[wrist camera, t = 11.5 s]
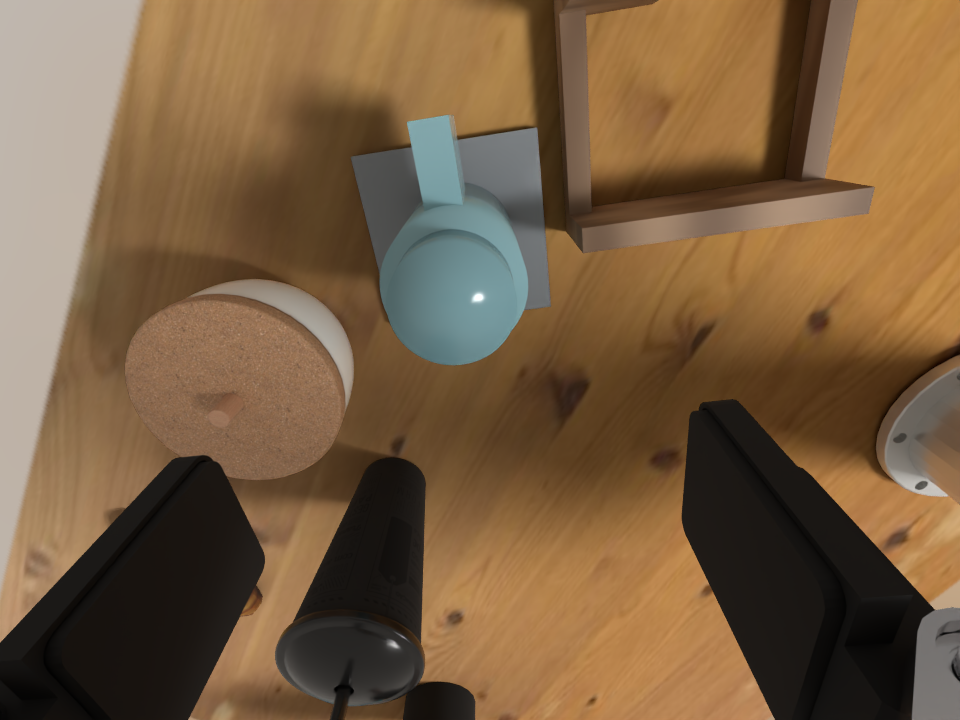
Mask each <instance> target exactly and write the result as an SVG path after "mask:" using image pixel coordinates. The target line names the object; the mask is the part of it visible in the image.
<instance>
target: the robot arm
mask: <svg viewBox="0 0 960 720" xmlns="http://www.w3.org/2000/svg"><path fill="white" fill-rule="evenodd" d="M876 452H877V459H878V461H879V463H880V465H881V467H882V469H883V470H884V471H885V472H886V474H887V475H888V476H889V477H890V478H892V479H893V480H894V481H895V482H896V483H898V484H899V485H900V486H902V487H903V488H905V489H907V490H909V491H911V492H914V493H917V494H922V495H927V496H943V497H946V496H950V497H951V498H952V499H953V500H955V501H956V502H957V503H958V504H960V355H958V356H955V357H953V358H951V359H949V360H947V361H946V362H944V363H942V364H940V365H938V366H936V367H935V368H933V369H932V370H930V371H929V372H927V373H926V374H925V375H923V376H922V377H920V378H919V379H918V380H916V381H915V382H914V383H913V384H912V385H911V386H910V387H909V388H908V389H906V390H905V391H904V392H903V393H902V394H901V396H900V397H899V398H898V399H897V400H896V402H895V403H894V404H893V405H892V406H891V408H890V409H889V411H888V413H887V414H886V416H885V418H884V419H883V421H882V424H881V427H880V429H879V432H878V435H877V442H876ZM682 524H683V528H684V531H685V534H686V537H687V539H688V541H689V543H690V545H691V547H692V549H693V551H694V553H695V555H696V557H697V559H698V561H699V563H700V566H701V568H702V570H703V572H704V574H705V576H706V578H707V580H708V582H709V584H710V586H711V588H712V590H713V592H714V595H715V597H716V599H717V601H718V603H719V605H720V607H721V609H722V611H723V613H724V615H725V617H726V619H727V621H728V624H729V626H730V628H731V630H732V632H733V634H734V636H735V638H736V640H737V642H738V644H739V646H740V648H741V650H742V653H743V655H744V657H745V659H746V661H747V663H748V665H749V667H750V669H751V671H752V673H753V675H754V677H755V679H756V682H757V684H758V686H759V688H760V690H761V692H762V694H763V696H764V698H765V700H766V702H767V704H768V706H769V708H770V711H771V713H772V715H773V717H774V718H775V720H960V608H953V607H952V608H946V609H940V610H935V609H933V607H932V606H931V605H930V604H929V603H928V602H927V601H926V600H925V599H924V597H923V596H922V595H921V594H920V593H919V592H918V591H917V590H916V589H915V588H914V587H913V586H912V584H911V583H910V582H909V581H908V580H907V579H906V578H905V577H904V576H903V575H902V574H901V573H900V571H899V570H898V569H897V568H896V567H895V566H894V565H893V564H892V563H891V562H890V561H889V559H888V558H887V557H886V556H885V555H884V554H883V553H882V552H881V551H880V550H879V549H878V548H877V546H876V545H875V544H874V543H873V542H872V541H871V540H870V539H869V538H868V537H867V536H866V535H865V533H864V532H863V531H862V530H861V529H860V528H859V527H858V526H857V525H856V524H855V523H854V521H853V520H852V519H851V518H850V517H849V516H848V515H847V514H846V513H845V512H844V511H843V510H842V508H841V507H840V506H839V505H838V504H837V503H836V502H835V501H834V500H833V499H832V498H831V497H830V495H829V494H828V493H827V492H826V491H825V490H824V489H823V488H822V487H821V486H820V485H819V483H818V482H817V481H816V480H815V479H814V478H813V477H812V476H811V475H810V474H809V473H808V472H807V471H805V470H804V469H803V468H800V467H798V466H796V464H795V463H794V462H793V461H792V460H791V459H790V458H789V457H788V456H787V455H786V453H785V452H784V451H783V450H782V449H781V448H780V447H779V446H778V445H777V443H776V442H775V441H774V440H773V439H772V438H771V437H770V436H769V435H768V434H767V432H766V431H765V430H764V429H763V428H762V427H761V426H760V425H759V424H758V422H757V421H756V420H755V419H754V418H753V417H752V416H751V415H750V414H749V413H748V411H747V410H746V409H745V408H744V407H743V406H742V405H741V404H740V403H739V402H738V401H737V400H734V399H731V400H721V401H712V402H703V403H702V404H701V405H700V407H699V411H693V412H691V414H690V419H689V432H688V444H687V456H686V469H685V481H684V493H683V506H682ZM264 564H265V555H264V552H263V550H262V548H261V546H260V544H259V541H258V539H257V537H256V535H255V533H254V531H253V529H252V527H251V525H250V523H249V521H248V519H247V517H246V515H245V513H244V511H243V509H242V507H241V505H240V503H239V501H238V499H237V497H236V495H235V493H234V491H233V489H232V487H231V485H230V483H229V481H228V479H227V477H226V475H225V473H224V471H223V469H222V467H221V465H220V464H219V463H218V462H216V461H213V459H212V458H211V457H209V456H207V455H198V456H188V457H179V458H175V459H173V460H172V461H171V462H169V464H168V465H167V466H166V467H165V468H164V469H163V470H162V471H161V472H160V473H159V474H158V475H157V476H156V477H155V478H154V479H153V481H152V482H151V483H150V484H149V485H148V486H147V487H146V488H145V489H144V490H143V491H142V492H141V493H140V494H139V495H138V497H137V498H136V499H135V500H134V501H133V502H132V503H131V504H130V505H129V506H128V507H127V508H126V509H125V510H124V511H123V513H122V514H121V515H120V516H119V517H118V518H117V519H116V520H115V521H114V522H113V523H112V524H111V525H110V526H109V527H108V529H107V530H106V531H105V532H104V533H103V534H102V535H101V536H100V537H99V538H98V539H97V540H96V541H95V542H94V543H93V544H92V546H91V547H90V548H89V549H88V550H87V551H86V552H85V553H84V554H83V555H82V556H81V557H80V558H79V559H78V560H77V562H76V563H75V564H74V565H73V566H72V567H71V568H70V569H69V570H68V571H67V572H66V573H65V574H64V575H63V576H62V578H61V579H60V580H59V581H58V582H57V583H56V584H55V585H54V586H53V587H52V588H51V589H50V590H49V591H48V592H47V594H46V595H45V596H44V597H43V598H42V599H41V600H40V601H39V602H38V603H37V604H36V605H35V606H34V607H33V608H32V610H31V611H30V612H29V613H28V614H27V615H26V616H25V617H24V618H23V619H22V620H21V621H20V622H19V623H18V624H17V625H16V627H15V628H14V629H13V630H12V631H11V632H10V633H9V634H8V635H7V636H6V637H5V638H4V639H3V640H2V641H1V643H0V720H188V719H189V717H190V715H191V713H192V711H193V709H194V707H195V705H196V703H197V701H198V699H199V697H200V695H201V693H202V691H203V689H204V687H205V685H206V683H207V681H208V679H209V677H210V675H211V673H212V671H213V669H214V667H215V665H216V663H217V661H218V659H219V657H220V655H221V653H222V651H223V649H224V647H225V645H226V643H227V641H228V639H229V637H230V635H231V633H232V631H233V629H234V627H235V625H236V623H237V621H238V619H239V617H240V615H241V613H242V611H243V609H244V607H245V605H246V603H247V601H248V599H249V597H250V595H251V593H252V592H253V590H254V588H255V586H256V584H257V582H258V580H259V578H260V576H261V574H262V571H263V569H264Z"/></svg>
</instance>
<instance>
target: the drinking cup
mask: <svg viewBox="0 0 960 720" xmlns="http://www.w3.org/2000/svg"><path fill="white" fill-rule="evenodd" d="M425 486H426V483H425V478H424V475H423V474H422V472H421V471H420V469H419V468H418V467H416V466H415V465H414V464H412V463H410V462H408V461H406V460H403V459H399V458H385V459H381V460H378V461H376V462H374V463H373V464H371V465H370V466H369V467H368V468H367V470H366V471H365V473H364V475H363V477H362V479H361V481H360V484H359V486H358V488H357V490H356V492H355V494H354V496H353V498H352V500H351V502H350V504H349V506H348V509H347V511H346V513H345V515H344V517H343V519H342V521H341V523H340V525H339V527H338V529H337V531H336V534H335V536H334V538H333V540H332V542H331V544H330V546H329V548H328V550H327V552H326V554H325V556H324V559H323V561H322V563H321V565H320V567H319V569H318V571H317V573H316V575H315V577H314V579H313V582H312V584H311V586H310V588H309V590H308V592H307V594H306V596H305V598H304V600H303V602H302V604H301V607H300V609H299V611H298V613H297V615H296V617H295V619H294V621H293V623H292V624H290V625H289V626H288V627H287V628H286V629H285V631H284V632H283V633H282V635H281V637H280V639H279V641H278V644H277V646H276V651H275V660H276V664H277V667H278V669H279V671H280V673H281V674H282V676H283V677H284V678H285V679H286V680H287V681H288V682H289V683H290V684H292V685H293V686H294V687H296V688H297V689H299V690H300V691H302V692H304V693H306V694H308V695H310V696H313V697H315V698H318V699H320V700H322V701H325V702H328V703H332V704H333V708H332V712H331V716H330V720H344V719H345V715H346V710H347V706H363V705H374V704H380V703H385V702H389V701H392V700H395V699H397V698H400V697H402V696H404V695H405V694H407V693H409V692H410V691H411V690H412V689H414V688H415V687H416V685H417V684H418V683H419V681H420V680H421V678H422V676H423V673H424V668H425V654H424V650H423V647H422V645H421V622H422V588H423V554H424V520H425Z"/></svg>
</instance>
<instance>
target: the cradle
mask: <svg viewBox="0 0 960 720" xmlns="http://www.w3.org/2000/svg"><path fill="white" fill-rule="evenodd" d="M656 1H658V0H554V17H555V35H556V53H557V71H558V89H559V107H560V125H561V143H562V162H563V180H564V198H565V216H566V232H567V233H568V234H569V236H570V237H571V238H572V239H573V241H574V242H575V243H576V245H577V246H578V247H579V248H580V250H581V251H582V252H583V253H588V252H595V251H602V250H610V249H617V248H624V247H631V246H638V245H646V244H653V243H660V242H667V241H675V240H682V239H689V238H696V237H703V236H711V235H718V234H725V233H732V232H739V231H747V230H754V229H761V228H768V227H776V226H783V225H790V224H797V223H804V222H812V221H819V220H826V219H833V218H840V217H848V216H855V215H862V214H869V209H870V205H871V201H872V197H873V192H874V188H875V187H872V186H866V185H860V184H854V183H848V182H842V181H836V180H830V179H825V174H826V168H827V163H828V157H829V152H830V147H831V141H832V136H833V131H834V125H835V120H836V114H837V109H838V104H839V98H840V93H841V88H842V82H843V77H844V72H845V66H846V61H847V55H848V50H849V45H850V39H851V34H852V29H853V23H854V18H855V12H856V7H857V2H858V0H811V4H810V11H809V18H808V24H807V31H806V38H805V44H804V51H803V58H802V65H801V71H800V78H799V85H798V91H797V98H796V105H795V112H794V118H793V125H792V132H791V138H790V145H789V152H788V158H787V165H786V172H785V179H780V180H773V181H766V182H759V183H752V184H745V185H738V186H731V187H724V188H718V189H711V190H704V191H697V192H690V193H683V194H676V195H669V196H662V197H655V198H649V199H642V200H635V201H628V202H621V203H614V204H607V205H600V206H593V207H592V202H591V169H590V136H589V103H588V70H587V36H586V15H591V14H597V13H603V12H609V11H614V10H620V9H626V8H632V7H638V6H644V5H649V4H653V3H655V2H656Z"/></svg>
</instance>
